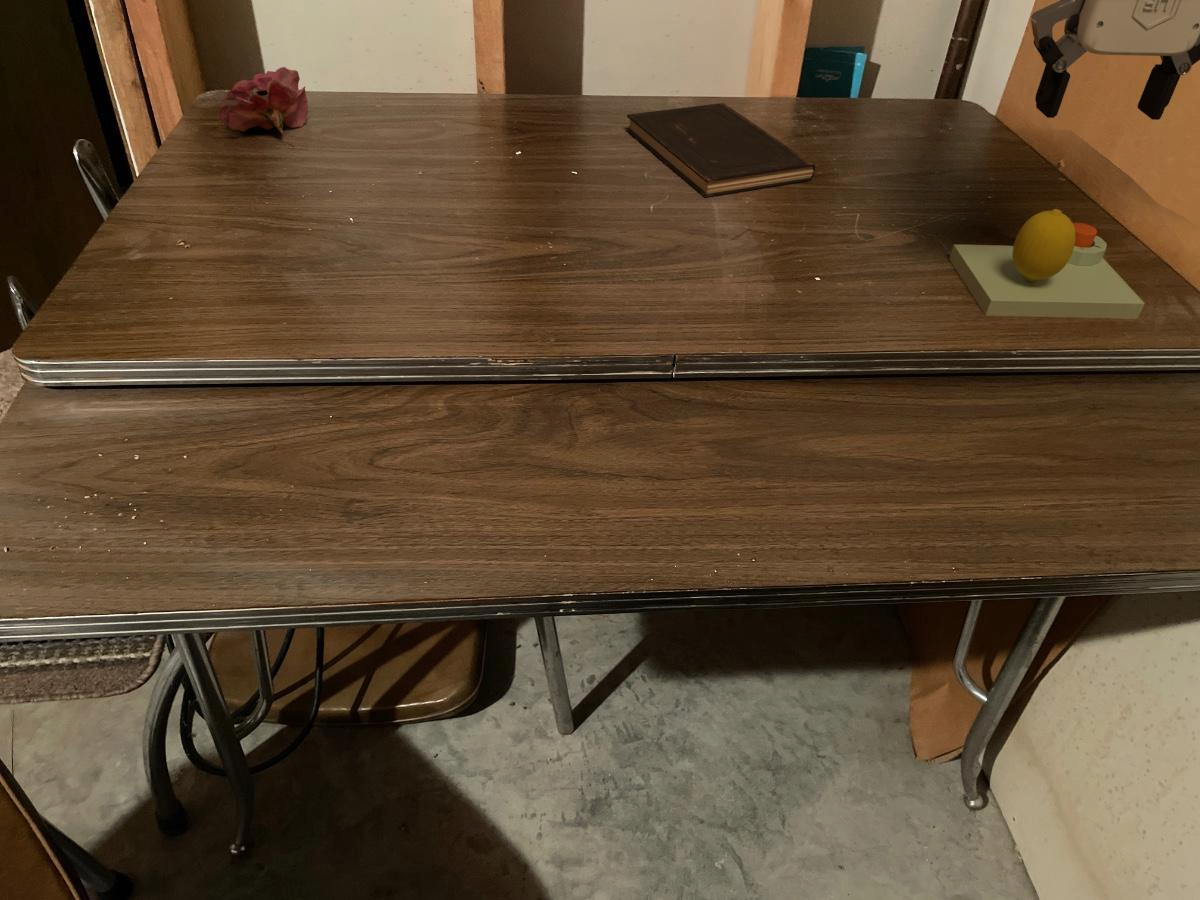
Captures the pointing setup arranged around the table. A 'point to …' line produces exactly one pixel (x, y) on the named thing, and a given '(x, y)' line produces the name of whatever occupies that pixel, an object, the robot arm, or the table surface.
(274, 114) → the flower
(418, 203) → the table surface
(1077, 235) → the button
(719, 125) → the hardcover book
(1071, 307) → the scale
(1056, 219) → the lemon
